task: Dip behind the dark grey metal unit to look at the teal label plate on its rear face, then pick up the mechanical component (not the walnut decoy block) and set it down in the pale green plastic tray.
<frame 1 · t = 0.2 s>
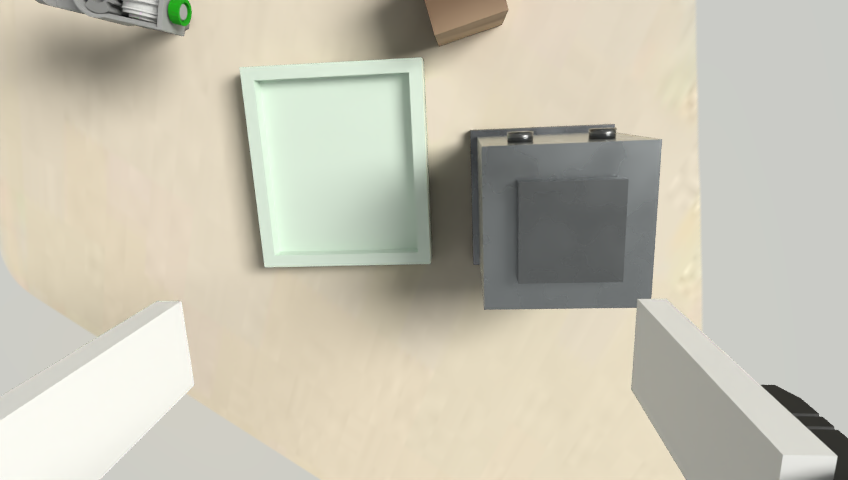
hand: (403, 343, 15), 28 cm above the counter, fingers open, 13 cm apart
tray: (343, 166, 42), on the counter
walnut block: (460, 2, 39), on the counter
mechanical component: (184, 20, 41), on the counter
unit: (539, 195, 42), on the counter
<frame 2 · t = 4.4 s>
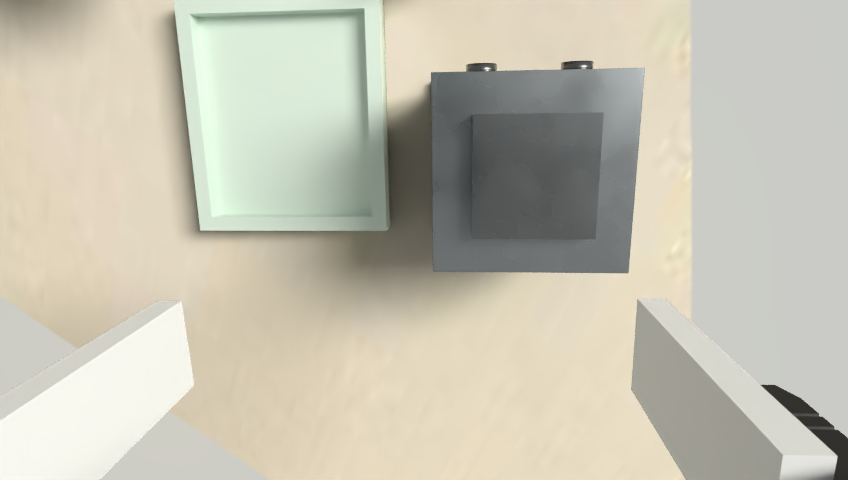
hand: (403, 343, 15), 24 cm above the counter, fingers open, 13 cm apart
tray: (292, 118, 38), on the counter
unit: (511, 158, 37), on the counter
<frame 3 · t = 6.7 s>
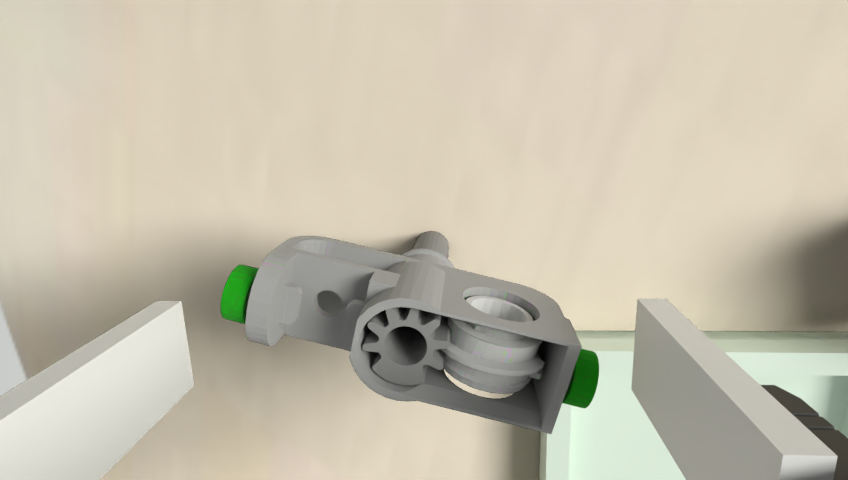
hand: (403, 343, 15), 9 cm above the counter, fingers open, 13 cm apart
mechanical component: (432, 247, 23), on the counter
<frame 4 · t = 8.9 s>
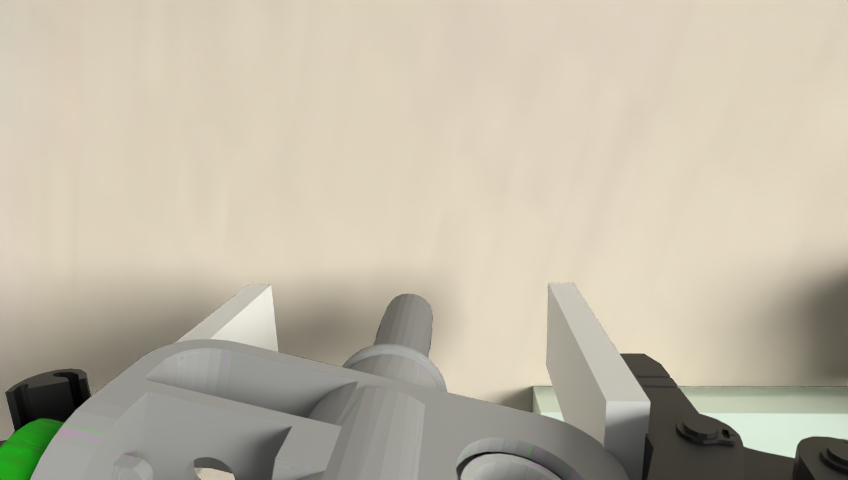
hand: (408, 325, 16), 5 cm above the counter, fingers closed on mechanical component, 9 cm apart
mechanical component: (410, 314, 16), point 4 cm above the counter, touching gripper
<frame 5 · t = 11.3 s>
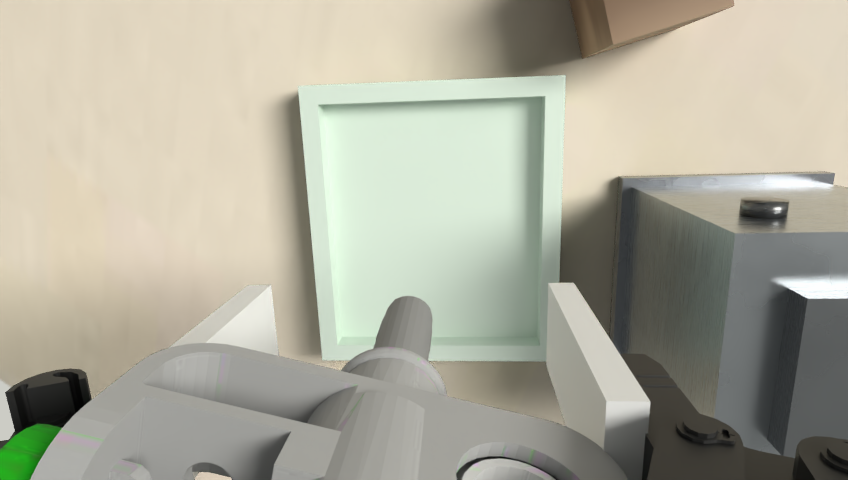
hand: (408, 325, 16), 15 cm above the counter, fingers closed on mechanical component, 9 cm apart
tray: (435, 222, 30), on the counter
mechanical component: (410, 316, 16), point 15 cm above the counter, touching gripper
unit: (710, 268, 30), on the counter
when the fingers open (3 cm above the counter, at t = 13.7 s): mechanical component drops 2 cm, resting on tray.
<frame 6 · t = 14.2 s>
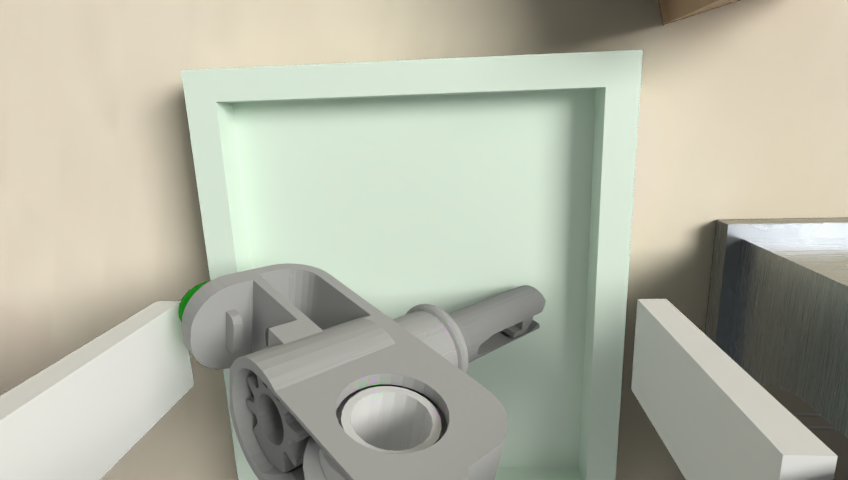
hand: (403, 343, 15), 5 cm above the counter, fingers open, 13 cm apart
tray: (418, 289, 19), on the counter
mechanical component: (532, 306, 18), point 1 cm above the counter, touching gripper, tray
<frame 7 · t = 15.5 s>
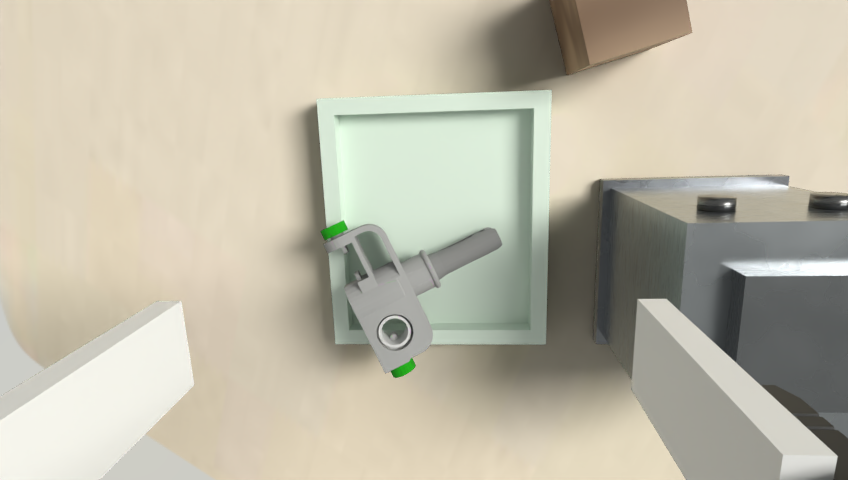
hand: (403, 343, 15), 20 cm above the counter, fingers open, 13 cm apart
tray: (437, 220, 34), on the counter
walnut block: (598, 20, 31), on the counter
mechanical component: (499, 235, 32), point 2 cm above the counter, touching tray
unit: (682, 260, 33), on the counter
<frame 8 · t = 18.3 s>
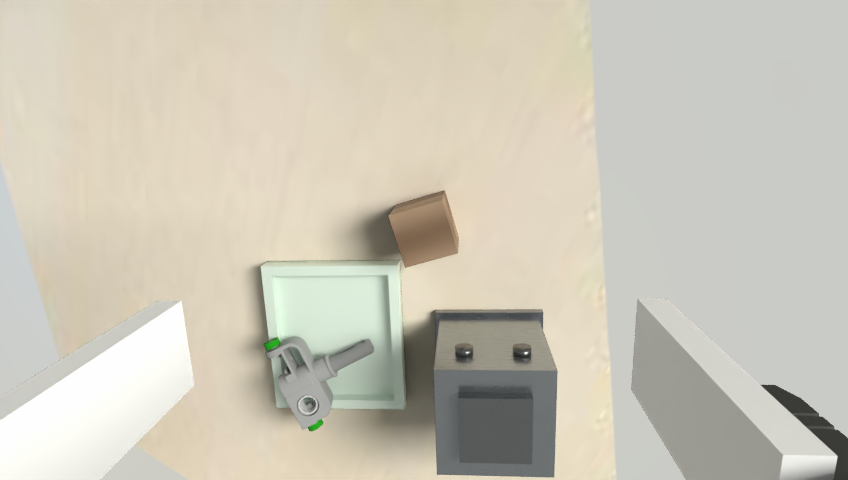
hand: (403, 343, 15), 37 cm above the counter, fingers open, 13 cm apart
tray: (338, 331, 55), on the counter
walnut block: (427, 221, 51), on the counter
mechanical component: (373, 344, 53), point 2 cm above the counter, touching tray
unit: (488, 358, 54), on the counter
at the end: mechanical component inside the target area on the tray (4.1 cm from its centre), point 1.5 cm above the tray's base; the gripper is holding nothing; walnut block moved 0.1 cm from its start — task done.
